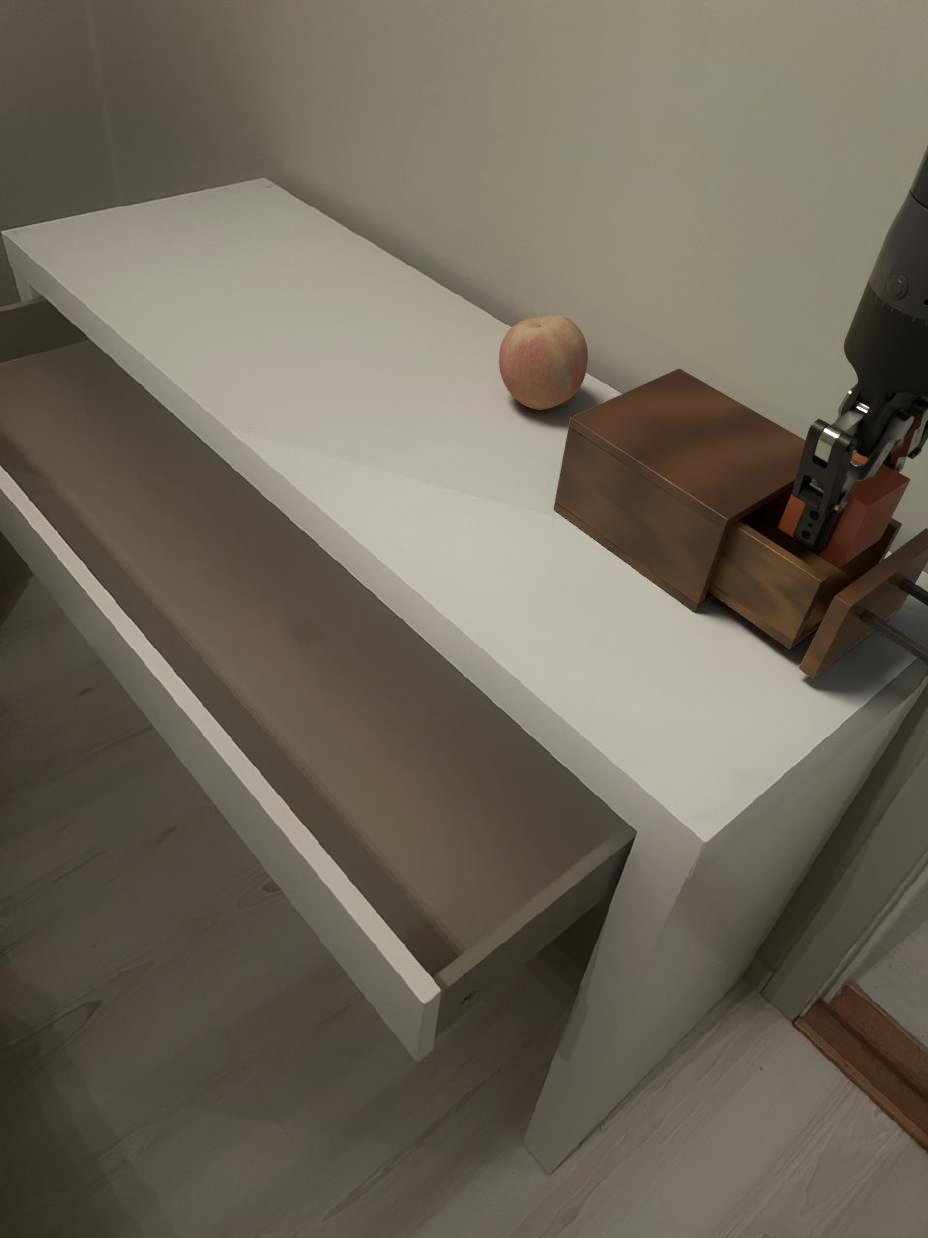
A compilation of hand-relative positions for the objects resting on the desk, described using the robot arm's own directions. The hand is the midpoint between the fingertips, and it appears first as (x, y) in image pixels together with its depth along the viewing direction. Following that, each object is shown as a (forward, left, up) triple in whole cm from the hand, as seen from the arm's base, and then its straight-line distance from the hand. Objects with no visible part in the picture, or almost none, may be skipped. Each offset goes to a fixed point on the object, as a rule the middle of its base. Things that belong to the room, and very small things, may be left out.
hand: (832, 528), depth 63 cm
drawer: (-1, +1, -7) cm, 7 cm away
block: (0, 0, 0) cm, 0 cm away
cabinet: (+10, -6, -8) cm, 14 cm away
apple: (+24, -20, -8) cm, 32 cm away
